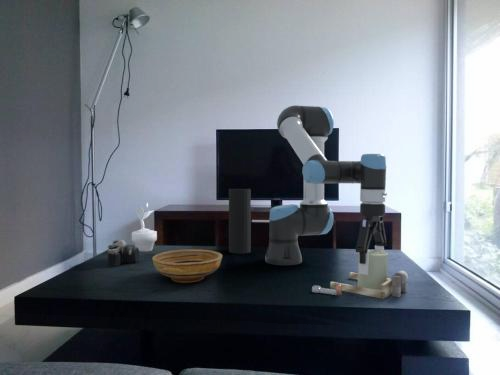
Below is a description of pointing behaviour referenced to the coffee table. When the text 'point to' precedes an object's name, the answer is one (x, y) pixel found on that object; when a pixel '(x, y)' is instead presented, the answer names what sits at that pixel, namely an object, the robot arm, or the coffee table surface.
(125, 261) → the camera
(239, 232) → the vase
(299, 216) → the robot arm
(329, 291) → the crank handle
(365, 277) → the can
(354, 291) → the wooden frame
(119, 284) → the coffee table surface
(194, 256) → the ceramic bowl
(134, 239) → the potted plant
